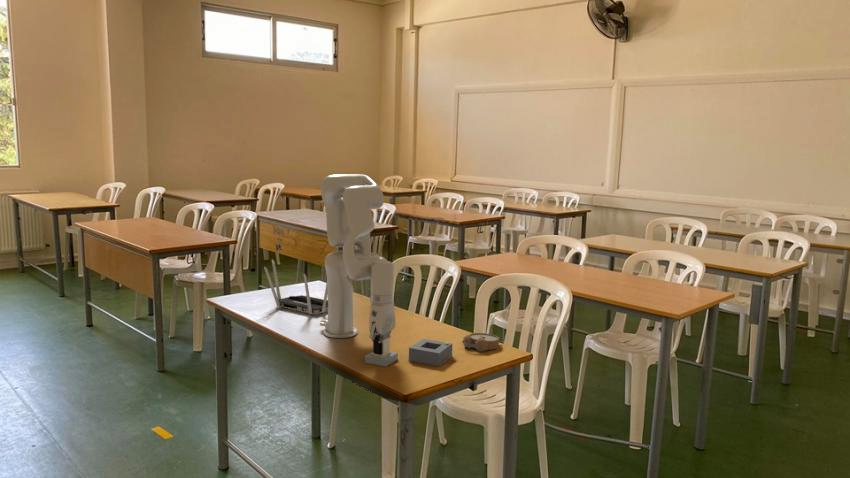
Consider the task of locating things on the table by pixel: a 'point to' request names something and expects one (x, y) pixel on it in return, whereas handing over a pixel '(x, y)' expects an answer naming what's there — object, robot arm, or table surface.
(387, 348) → the plug
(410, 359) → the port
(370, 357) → the light grey square frame
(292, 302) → the wireless router
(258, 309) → the table surface
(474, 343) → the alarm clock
